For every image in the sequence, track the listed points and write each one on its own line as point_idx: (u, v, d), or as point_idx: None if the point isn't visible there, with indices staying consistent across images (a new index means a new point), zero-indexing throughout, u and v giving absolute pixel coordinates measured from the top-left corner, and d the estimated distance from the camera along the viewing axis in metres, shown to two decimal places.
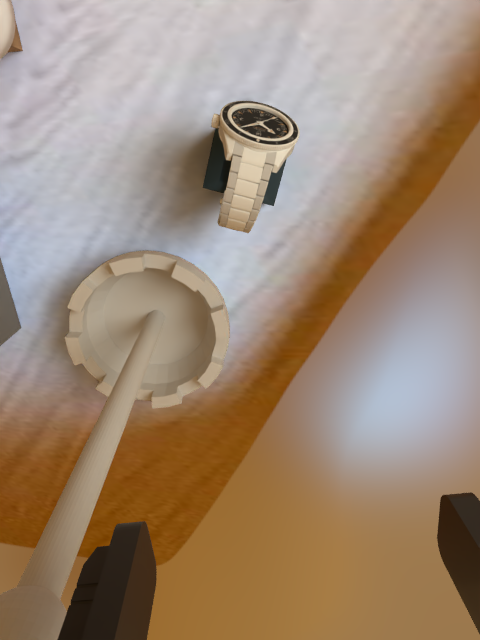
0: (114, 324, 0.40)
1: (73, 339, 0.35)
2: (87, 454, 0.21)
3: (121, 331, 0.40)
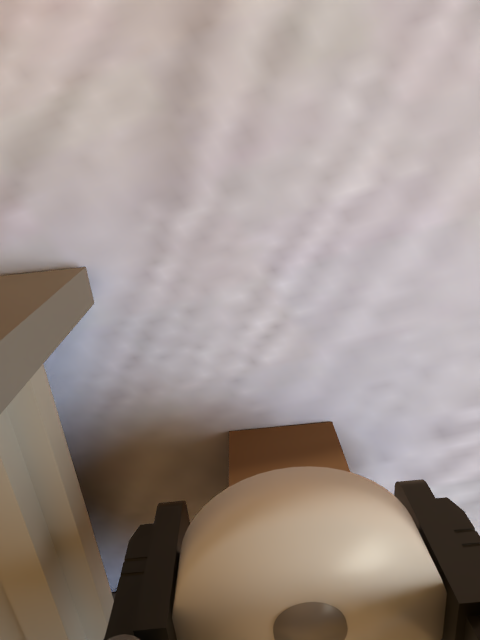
0: None
1: None
2: None
3: None
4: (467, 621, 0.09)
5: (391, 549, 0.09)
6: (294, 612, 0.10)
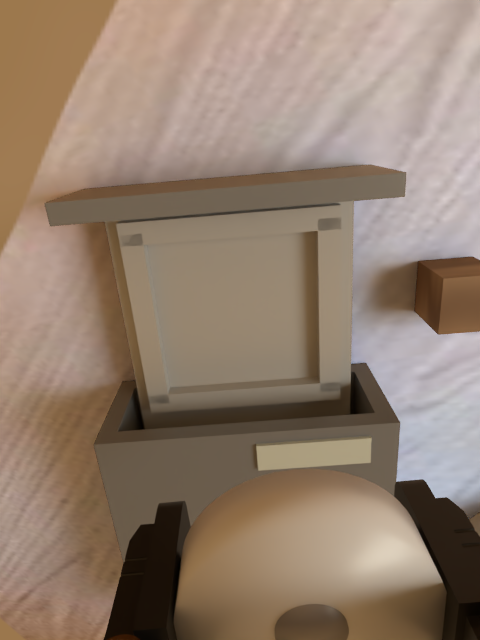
0: None
1: None
2: None
3: None
4: (467, 622, 0.09)
5: (392, 551, 0.09)
6: (295, 615, 0.10)
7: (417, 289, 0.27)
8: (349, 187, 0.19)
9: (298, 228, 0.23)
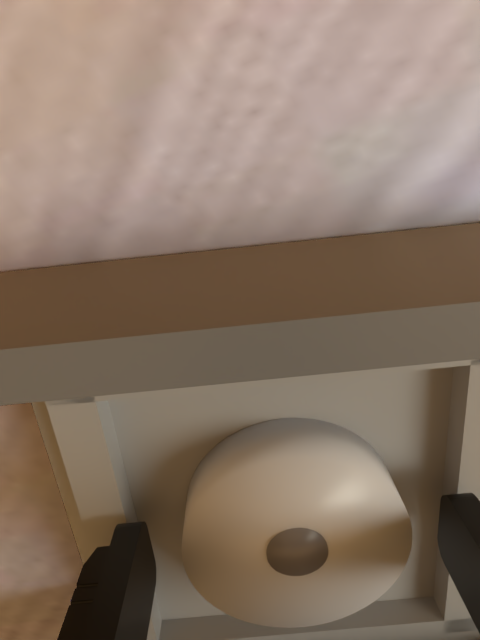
0: None
1: None
2: None
3: None
4: None
5: (362, 480, 0.11)
6: (283, 537, 0.11)
7: None
8: None
9: None
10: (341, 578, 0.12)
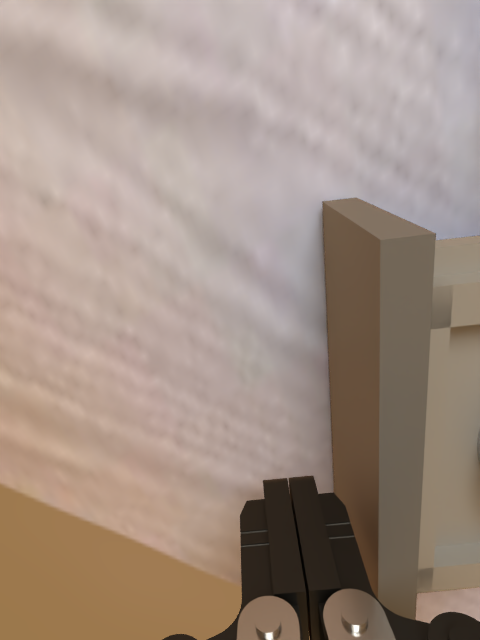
0: None
1: None
2: None
3: None
4: (320, 608, 0.10)
5: None
6: None
7: None
8: (400, 355, 0.09)
9: (440, 361, 0.12)
10: None
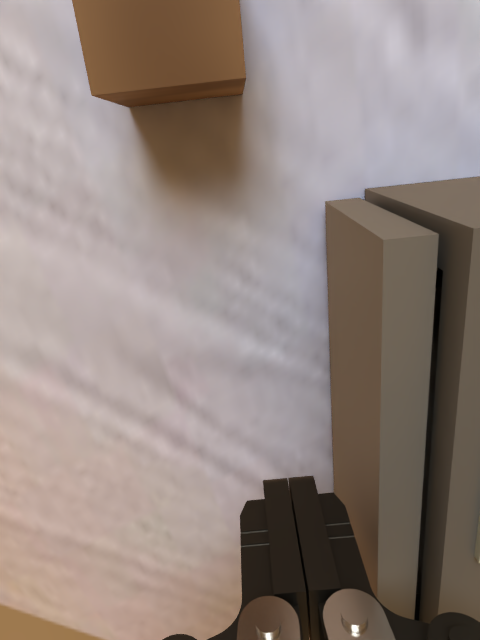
0: None
1: None
2: None
3: None
4: (320, 608, 0.10)
5: None
6: None
7: (189, 99, 0.12)
8: (403, 355, 0.09)
9: None
10: None
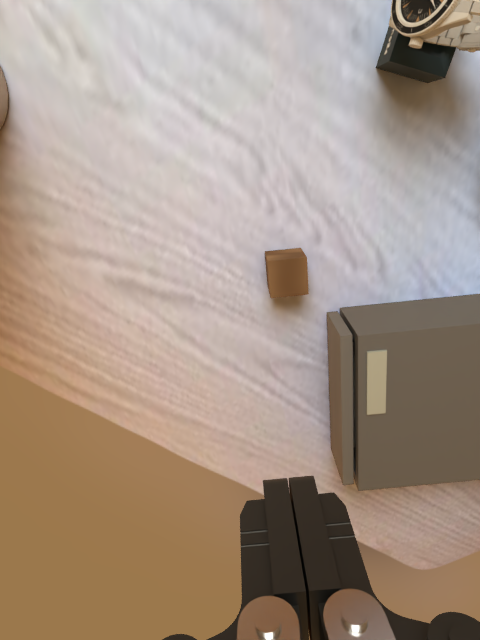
0: None
1: None
2: None
3: None
4: (320, 608, 0.10)
5: None
6: None
7: None
8: (346, 361, 0.38)
9: None
10: None
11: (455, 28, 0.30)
